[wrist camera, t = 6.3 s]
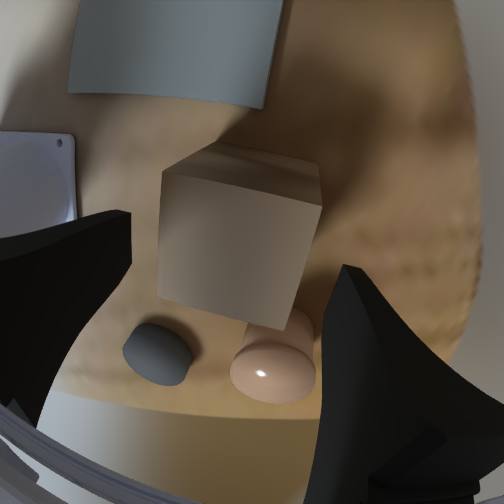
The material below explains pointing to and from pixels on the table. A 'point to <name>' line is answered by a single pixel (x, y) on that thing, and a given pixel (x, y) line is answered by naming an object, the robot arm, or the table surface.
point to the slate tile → (176, 48)
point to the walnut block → (237, 231)
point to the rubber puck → (157, 354)
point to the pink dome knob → (276, 361)
